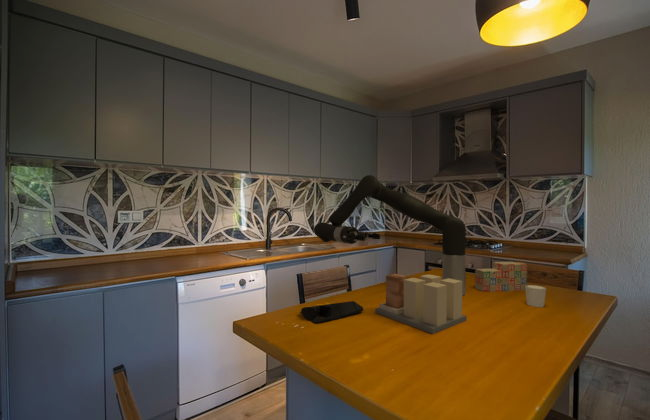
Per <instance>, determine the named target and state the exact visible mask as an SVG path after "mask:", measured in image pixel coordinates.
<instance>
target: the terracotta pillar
mask: <svg viewBox="0 0 650 420" xmlns="http://www.w3.org/2000/svg"><path fill="white" fill-rule="evenodd" d="M405 279H407V276H406V275H404V274H397V273H392V274H386V275H385V303H386V306H389V307H392V308H395V309H399V308H403V307H404V280H405Z"/></svg>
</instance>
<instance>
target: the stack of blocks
mask: <svg viewBox="0 0 650 420" xmlns="http://www.w3.org/2000/svg"><path fill="white" fill-rule="evenodd" d="M474 278H475V280H474V281H475V282H474V283H475V285H474V286H475V287H474V289H476V290H478V291H481V292H484V293H485V292H516V291H517V292H518V291H519V292H520V291H522V292H523V291H524V292H526V288H525V286H526V285H528V282H527V281H528V280H527V279H528V264H527V263H525V262H519V261H493V267H492V268H475V276H474Z"/></svg>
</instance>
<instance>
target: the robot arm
mask: <svg viewBox="0 0 650 420" xmlns="http://www.w3.org/2000/svg"><path fill="white" fill-rule="evenodd" d="M367 197H368V198H371V199H374V200H376V201H379V202H381V203H384V204H385V205H387V206H389V207H390V208H392V209H394V210H395V211H397V212H399V213H400V214H402V215H405V216H406V217H408V218H409V219H413V220H415V221H418V222H422V223H424V224H428V225H430V226H432V227H434V228H435V229H437V230H439V231H441V232H442V235H441V236H442V244H441V245H442V248H441V249H442V276H441V280H444V279H448V278H450V279H454V280H459V281H462V297H463V296H465V295H466V290H467V288H466V286H467V285H466V284H467V283H466V282H467V280H466V279H467V277H466V276H467V273H466V249H467V248H466V247H467V246H466V240H467V239H466V238H467V237H466V236H467V231H466V230H467V229H466V224H465V222H464V221H463V220H462V219H461V218H458V217H456V216H452V215H450V214H447V213H444V212H441V211H440V210H437V209H435V208H434V207H433V206H431V205H429V204H428V203H426V202H425V201H423V200H421V199H419V198H416V197H414V196H413V195H411V194H408V193H405V192H402V191H397V190H395V189H394V190H393V189H391V188H389V187H387V186H386V185H384V184H383V183H381V182H379V180H378V178H377V177H376V176H374V175H372V174H371V175H370V174H369V175H366V176H363V178H361V179H360V181H359V183H358V184H357V185H356V187H355V188H354V189H353V190H352V192H351V193H350V194H349V195H348V196H347V198H346V199H345V200H344V202H342V203H341V204H340V205H339V206H338V208H336V209H335V210H334V211H333V212H332V213H331V215H330V216H329V217H328V220H329V223H327V222H324V221H323V222H322V221H321V222H318V223H316V224H315V225H314V227H313V233H314V235H315V236H316V237H318V238H319V239H320V240H321V241H322V242H324V243H330V242H331V241H333V242H339V243H343V244H350V245H354V244H356V243H357V241H361V242H364V241H368V240H380V239H381V234H380V233H376V232H373V231H372V232H371V231H362V230H358V228H357V227H355V226H347V225H343V224H344V223H345V222H346V221H348V219H349V218H350V217H351V215H352V214H353V213H354V212H355V210H356V208H357V207H358V206H359V205H360V203H362V201H363V200H365V199H366V198H367Z"/></svg>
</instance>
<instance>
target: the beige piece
mask: <svg viewBox="0 0 650 420" xmlns="http://www.w3.org/2000/svg"><path fill="white" fill-rule="evenodd" d="M525 288H526V290H525V296H526V305H528V306H530V307H536V308H544V307H545V301H546V294H547V293H546V292H547V287H545V286H542V285H541V286H540V285H535V284H527V285H526V286H525Z"/></svg>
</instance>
